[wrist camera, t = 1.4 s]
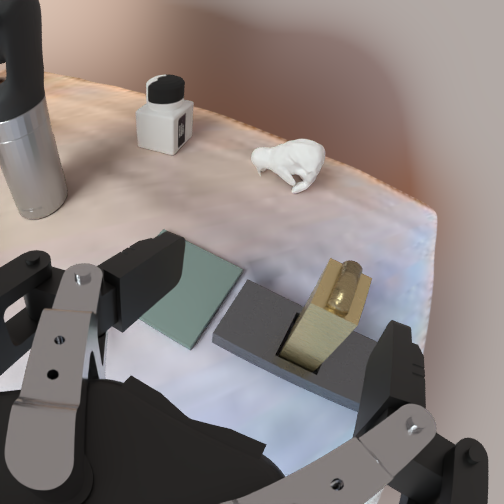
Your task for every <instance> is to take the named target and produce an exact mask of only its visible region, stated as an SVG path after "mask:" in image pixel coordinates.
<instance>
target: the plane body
mask: <svg viewBox="0 0 504 504" xmlns="http://www.w3.org/2000/svg"><path fill="white" fill-rule="evenodd" d="M303 308H304V307H303V306H301V305H299V304H296V303H294V302H292V301H290V300H288V299H286V298H284V297H282V296H280V295H278V294H276V293H274V292H272V291H270V290H268V289H266V288H264V287H262V286H260V285H258V284H256V283H254V282H252V281H250V280H247V281H246V283H245V284H244V286H243V287H242V289H241V291H240V292H239V294H238V295H237V297H236V298H235V300H234V301H233V303H232V304H231V306H230V308H229V309H228V311H227V312H226V314H225V315H224V317H223V318H222V320H221V321H220V323H219V325H218V326H217V328H216V329H215V331H214V332H213V339H212V342H213V343H215V344H216V345H218V346H220V347H222V348H224V349H226V350H227V351H229V352H231V353H233V354H235V355H237V356H239V357H241V358H243V359H245V360H246V361H248V362H250V363H252V364H254V365H256V366H258V367H260V368H262V369H264V370H266V371H268V372H270V373H272V374H274V375H276V376H278V377H280V378H283V379H285V380H287V381H289V382H291V383H293V384H295V385H297V386H299V387H302V388H304V389H306V390H308V391H310V392H313V393H315V394H317V395H319V396H321V397H324V398H326V399H328V400H331V401H333V402H335V403H338V404H340V405H342V406H345V407H347V408H349V409H352V410H354V411H357V412H358V410H359V405H360V400H361V394H362V389H363V383H364V377H365V370H366V365H367V362H368V359H369V357H370V354H371V352H372V351H373V349H374V347H375V346H376V344H377V342H376V341H374V340H372V339H369V338H367V337H365V336H363V335H361V334H359V333H357V332H355V331H352V332H351V333H350V334H349V335H348V337H347V338H346V339H345V340H344V341H343V342H342V343H341V344H340V345H339V346H338V347H337V348H336V349H335V350H334V351H333V352H332V353H331V355H330V356H329V357H328V358H327V359H326V360H325V361H324V362H323V363H322V364H321V365H320V366H319V367H318V368H317V369H316V370H315V371H314V373H311V372H309V371H307V370H305V369H303V368H301V367H299V366H297V365H294V364H292V363H290V362H288V361H286V360H284V359H282V358H280V357H278V356H276V355H275V354H276V352H277V350H278V348H279V347H280V345H281V343H282V341H283V339H284V337H285V335H286V333H287V331H288V329H289V327H290V325H291V323H295V322H296V320H297V318H298V316H299V315H300V313H301V311H302V309H303Z"/></svg>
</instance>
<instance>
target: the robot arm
mask: <svg viewBox="0 0 504 504" xmlns="http://www.w3.org/2000/svg"><path fill="white" fill-rule="evenodd" d="M5 62H6V73H7V76H6V80H5V81H4V82H3V83H1V84H0V166H1V169H2V171H3V174H4V177H5V179H6V182H7V184H8V187H9V189H10V192H11V194H12V197H13V199H14V201H15V204H16V206H17V208H18V210H19V213H20V214H21V215H22V216H23V217H24V218H27V219H40V218H43V217H46V216H48V215H50V214H51V213H53V212H54V211H56V210H57V209H58V208H59V207H60V206H61V205H62V204H63V203H64V201H65V199H66V197H67V192H68V190H67V186H66V183H65V177H64V173H63V169H62V165H61V162H60V158H59V154H58V150H57V146H56V141H55V137H54V134H53V132H52V127H51V122H50V117H49V113H48V108H47V102H46V97H45V91H44V65H43V55H42V23H41V9H40V4H39V0H0V64H2V63H5ZM185 244H186V242H185V239H184V238H183V237H181V236H178V235H176V234H173V233H171V232H168V231H166V232H164V233H162V234H160V235H158V236H157V237H155V238H153V239H152V238H150V239H146V240H142V241H138V242H137V243H135V244H133V245H132V246H130V248H126V249H125V250H123V251H122V253H121V252H120V253H118V254H116V255H115V256H113V257H111V258H110V259H108V260H106V261H105V262H103V263H102V264H100V265H98V266H95V265H92V264H76V265H73V266H71V267H69V268H68V269H67V270H66V271H65V270H62V269H58V268H55V267H52V266H51V258H50V255H49V254H48V253H46V252H44V251H39V250H35V251H29V252H26V253H24V254H22V255H20V256H19V257H17V258H15V259H14V260H12V261H10V262H9V263H7V264H5V265H4V266H2V267H0V375H2V374H3V373H4V372H5V371H6V370H7V369H8V368H9V367H10V366H12V365H13V364H14V363H15V362H16V361H17V360H18V359H19V358H21V357H22V356H23V355H24V354H25V353H26V352H27V351H29V350H30V349H31V351H30V355H29V359H28V362H27V366H26V370H25V375H24V379H23V383H22V388H21V390H14V391H5V392H0V504H364V503H365V502H366V501H368V500H369V499H370V498H371V497H373V496H374V495H375V494H376V493H378V492H379V491H380V490H381V489H382V488H384V487H385V486H386V485H389V486H390V487H392V488H394V489H395V490H397V491H399V492H400V493H401V498H400V502H399V504H487V502H488V456H487V452H486V450H485V449H484V447H483V446H482V444H481V443H479V442H478V441H477V440H475V439H472V438H464V439H462V440H460V441H459V442H458V443H457V444H456V445H455V444H453V443H452V442H450V441H448V440H447V439H445V438H444V437H442V436H440V435H439V434H437V433H436V423H435V420H434V418H433V416H432V415H431V414H430V412H428V411H427V410H426V404H425V379H424V377H425V371H424V356H423V354H422V352H421V350H420V348H419V346H418V345H417V344H414V343H412V337H411V327H409V326H406V325H404V324H401V323H398V322H396V321H393V320H391V321H390V322H389V324H388V325H387V327H386V329H385V330H384V332H383V334H382V336H381V337H380V339H379V341H378V342H377V344H376V346H375V347H374V349H373V351H372V352H371V354H370V357H369V359H368V362H367V365H366V370H365V377H364V383H363V389H362V394H361V400H360V405H359V410H358V415H357V420H356V425H355V430H354V434H353V438H352V439H350V440H349V441H347V442H346V443H344V444H342V445H341V446H339V447H338V448H336V449H334V450H333V451H331V452H329V453H328V454H326V455H324V456H323V457H321V458H319V459H318V460H316V461H314V462H312V463H311V464H309V465H307V466H305V467H303V468H302V469H300V470H298V471H296V472H294V473H292V474H290V475H289V476H287V477H285V476H284V474H283V473H282V471H281V470H280V469H279V468H278V467H277V466H276V465H275V464H274V463H273V462H272V461H271V460H270V459H269V458H267V457H266V456H264V455H263V454H262V453H263V451H264V449H265V447H266V444H264V443H262V442H259V441H257V440H254V439H252V438H250V437H247V436H245V435H243V434H240V433H238V432H236V431H234V430H232V429H228V428H224V427H220V426H215V425H211V424H207V423H203V422H200V421H196V420H192V419H190V418H188V417H187V416H186V415H184V414H183V413H182V412H181V411H180V410H179V409H178V408H177V407H175V406H174V405H173V404H172V403H171V402H170V401H169V400H168V399H167V398H166V397H164V396H163V395H162V394H161V393H160V392H158V391H156V390H155V389H153V388H151V387H149V386H148V385H146V384H144V383H143V382H141V381H139V380H138V379H136V378H135V377H133V376H130V377H129V378H128V379H127V380H126V381H125V382H124V383H122V382H119V381H114V380H108V379H105V368H106V353H107V340H108V331H107V330H108V329H109V328H111V327H112V326H113V327H114V328H116V329H117V330H119V331H121V332H122V333H123V332H124V331H125V330H126V329H127V328H128V327H130V326H131V325H132V324H133V323H134V322H135V321H136V320H138V319H139V318H140V317H141V316H142V315H143V314H145V313H146V312H147V311H148V310H149V309H150V308H151V307H153V306H154V305H155V304H156V303H157V302H158V301H160V300H161V299H162V298H163V297H164V296H165V295H166V294H168V293H169V292H170V291H171V290H172V289H173V288H175V287H176V285H177V284H178V283H179V281H180V278H181V276H182V270H183V261H184V253H185ZM23 296H24V300H25V304H26V307H25V308H24V309H23V310H21V311H20V312H19V313H17V314H16V315H15V316H13V317H12V318H11V319H9V320H8V321H7V322H6V323H5V322H4V312H5V310H6V309H7V308H8V307H9V306H10V305H12V304H13V303H14V302H16V301H17V300H18V299H20V298H21V297H23Z"/></svg>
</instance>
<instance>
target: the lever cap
mask: <svg viewBox="0 0 504 504" xmlns="http://www.w3.org/2000/svg"><path fill="white" fill-rule="evenodd" d="M371 280H372V278H370V277H368V276H366V275H364V274H362V267H361V266H360V265H359V264H358V263H357V262H355V261H345V262H344V263H343V264H342V263H340V262H338V261H336V260H333V259H331V258H330V260H329V262H328V264H327V266H326V267H325V269H324V271H323V273H322V275H321V277H320V279H319V280H318V282H317V284H316V286H315V288H314V290H313V291H312V293H311V295H310V297H309V299H308V300H307V302H306V304H305V306H304V308H303V309H302V311H301V313H300V315H299V316H298V318H297V320H296V322H295V323H294V325H293V327H292V329H291V331H290V333H289V335H288V337H287V339H286V341H285V343H284V345H283V347H282V349H281V351H280V353H279V355H278V357H280V358H282V359H284V360H286V361H288V362H290V363H292V364H294V365H297V366H299V367H301V368H303V369H305V370H307V371H309V372H311V373H313V372H314V371H315V370H316V369H317V368H318V367H319V366H320V365H321V364H322V363H323V362H324V361H325V360H326V359H327V358H328V357H329V356H330V355H331V353H332V352H333V351H334V350H335V349H336V348H337V347H338V346H339V345H340V344H341V343H342V342H343V341H344V340H345V339H346V338H347V337H348V335H349V334H350V333H351V332H352V331H353V330H354V329H355V328H356V327H357V326H358V323H359V320H360V317H361V313H362V310H363V307H364V304H365V301H366V297H367V294H368V291H369V287H370V284H371Z"/></svg>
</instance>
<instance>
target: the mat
mask: <svg viewBox="0 0 504 504" xmlns="http://www.w3.org/2000/svg"><path fill="white" fill-rule="evenodd" d="M164 232H166V230H164V229H163V230H162V231H161V232H160V234H162V233H164ZM160 234H159V235H160ZM185 242H186V244H185V253H184V261H183V270H182V276H181V278H180V281H179V283H178V284H177V285H176V287H175V288H173V289H172V290H171V291H170V292H169V293H168V294H166V295H165V296H164V297H163V298H162V299H161V300H160V301H158V302H157V303H156V304H155V305H154V306H153V307H151V308H150V309H149V310H148V311H147V312H146V313H145V314H143V315H142V316H141V317H140V318H139V319H140V320H142V321H143V322H145V323H146V324H148V325H150V326H151V327H153V328H154V329H156V330H158V331H159V332H161V333H162V334H164V335H166V336H167V337H169V338H171V339H172V340H174V341H176V342H177V343H179V344H181V345H182V346H184V347H186V348H188V349H189V350H191V349H192V347H193V346H194V344H195V343H196V341H197V340H198V338H199V337H200V335H201V334H202V332H203V331H204V329H205V328H206V326H207V325H208V323H209V322H210V320H211V319H212V317H213V316H214V314H215V313H216V311H217V310H218V308H219V307H220V305H221V304H222V302H223V301H224V299H225V298H226V296H227V295H228V293H229V292H230V290H231V289H232V287H233V286H234V284H235V283H236V281H237V280H238V278H239V277H240V275H241V274H242V271H243V269H241V268H239V267H237V266H235V265H233V264H231V263H229V262H227V261H225V260H223V259H221V258H219V257H217V256H215V255H213V254H211V253H209V252H208V251H206V250H204V249H202V248H200V247H198V246H196V245H194V244H192V243H190V242H188V241H186V240H185Z"/></svg>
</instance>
